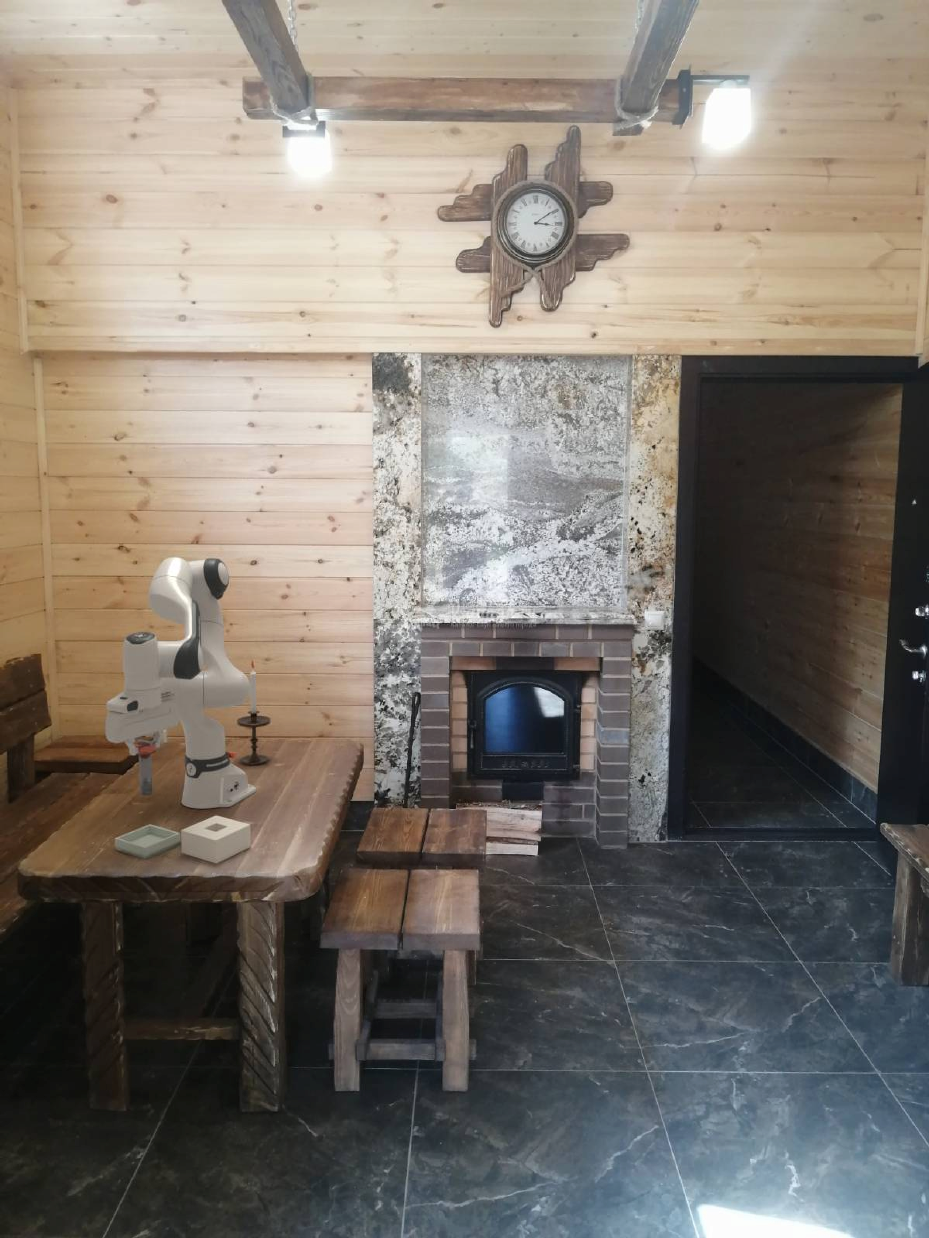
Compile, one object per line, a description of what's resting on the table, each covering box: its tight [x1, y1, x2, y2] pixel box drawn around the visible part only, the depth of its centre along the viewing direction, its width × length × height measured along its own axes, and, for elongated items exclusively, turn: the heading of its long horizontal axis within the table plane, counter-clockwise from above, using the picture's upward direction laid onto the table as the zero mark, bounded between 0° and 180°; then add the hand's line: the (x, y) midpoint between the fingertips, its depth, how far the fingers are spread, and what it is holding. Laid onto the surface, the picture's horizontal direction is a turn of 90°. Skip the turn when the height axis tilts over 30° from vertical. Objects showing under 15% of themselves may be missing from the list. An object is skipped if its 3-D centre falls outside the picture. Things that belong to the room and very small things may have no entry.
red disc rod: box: [134, 738, 157, 797], centre depth 225 cm, size 5×5×14 cm
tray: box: [114, 824, 181, 860], centre depth 228 cm, size 11×11×3 cm
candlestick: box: [236, 660, 271, 767], centre depth 296 cm, size 11×11×35 cm
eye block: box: [180, 815, 252, 865], centre depth 227 cm, size 12×12×6 cm
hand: (144, 751), depth 224 cm, fingers closed on red disc rod, 5 cm apart
